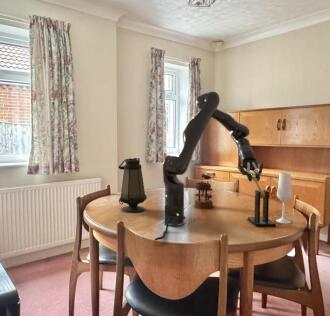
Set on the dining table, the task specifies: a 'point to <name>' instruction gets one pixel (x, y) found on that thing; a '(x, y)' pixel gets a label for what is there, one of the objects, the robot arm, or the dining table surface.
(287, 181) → the champagne flute
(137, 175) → the lantern
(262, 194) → the latch lever
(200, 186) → the dark brown tall piece
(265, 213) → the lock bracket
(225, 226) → the dining table surface
